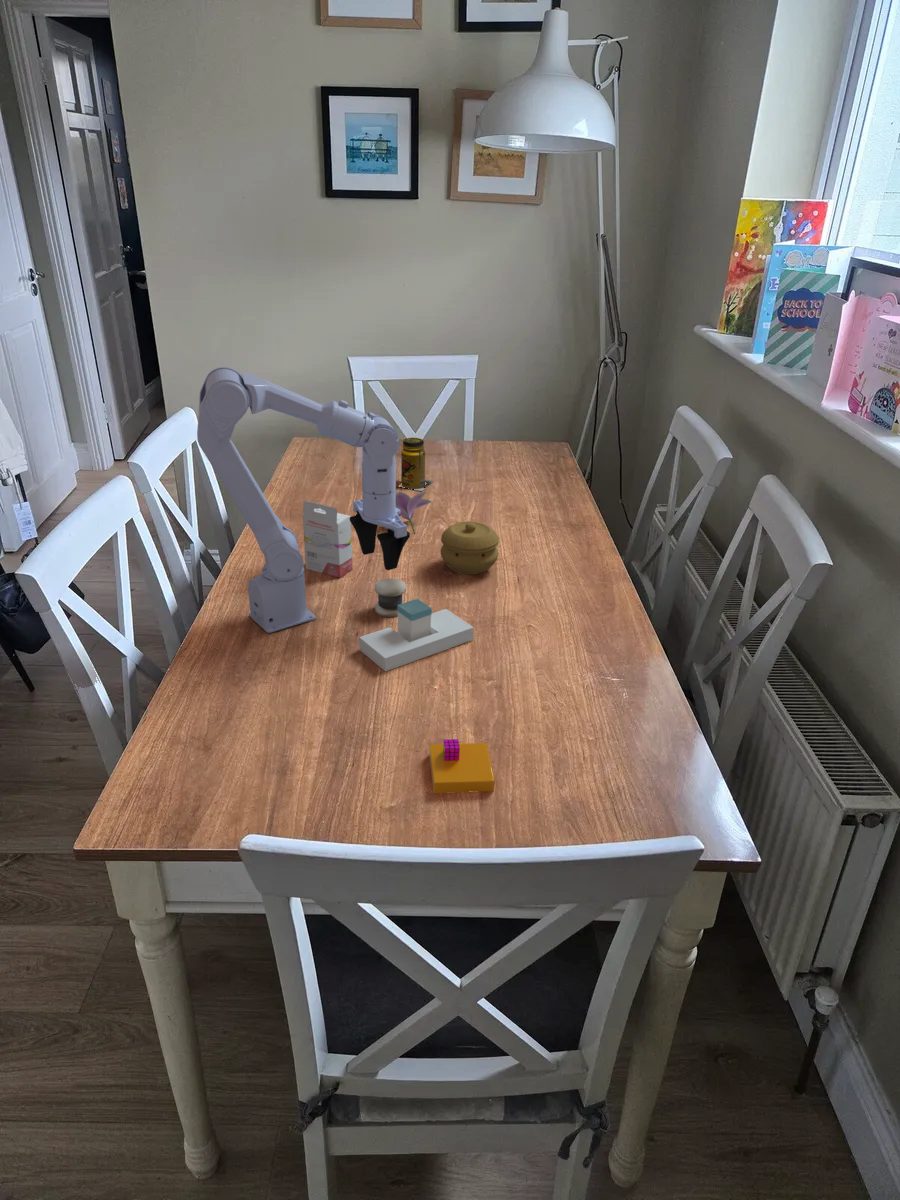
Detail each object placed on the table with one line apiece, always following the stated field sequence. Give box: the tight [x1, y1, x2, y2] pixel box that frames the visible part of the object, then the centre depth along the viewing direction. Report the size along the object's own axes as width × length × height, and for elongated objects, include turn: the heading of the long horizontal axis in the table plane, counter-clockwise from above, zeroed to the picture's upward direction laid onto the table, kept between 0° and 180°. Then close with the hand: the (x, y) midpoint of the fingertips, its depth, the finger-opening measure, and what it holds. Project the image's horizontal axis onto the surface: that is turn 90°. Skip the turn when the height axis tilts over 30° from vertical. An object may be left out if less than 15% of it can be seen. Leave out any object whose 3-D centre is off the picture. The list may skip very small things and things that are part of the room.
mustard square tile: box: [428, 738, 496, 794], centre depth 108 cm, size 8×8×4 cm
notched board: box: [358, 608, 475, 672], centre depth 137 cm, size 18×8×2 cm, turn 127°
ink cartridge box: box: [302, 499, 353, 579], centre depth 159 cm, size 9×5×15 cm, turn 62°
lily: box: [396, 491, 432, 535], centre depth 181 cm, size 12×12×10 cm
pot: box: [440, 521, 500, 575], centre depth 163 cm, size 12×12×10 cm
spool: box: [374, 578, 407, 618], centre depth 148 cm, size 6×6×5 cm
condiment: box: [400, 437, 434, 492], centre depth 206 cm, size 7×8×12 cm
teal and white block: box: [397, 598, 433, 642], centre depth 137 cm, size 4×4×7 cm
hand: (379, 560), depth 145 cm, fingers open, 7 cm apart
